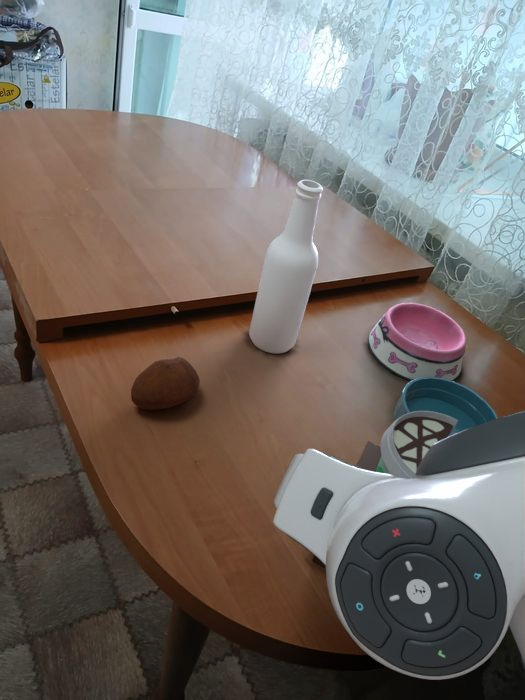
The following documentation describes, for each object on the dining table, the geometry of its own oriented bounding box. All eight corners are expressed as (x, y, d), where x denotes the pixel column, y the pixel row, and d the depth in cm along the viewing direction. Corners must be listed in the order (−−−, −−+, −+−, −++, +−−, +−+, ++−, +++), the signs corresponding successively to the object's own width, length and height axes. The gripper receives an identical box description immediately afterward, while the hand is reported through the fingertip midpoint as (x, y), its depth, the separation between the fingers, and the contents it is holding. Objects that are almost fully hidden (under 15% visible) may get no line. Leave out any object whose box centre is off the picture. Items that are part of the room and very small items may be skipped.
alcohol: (238, 332, 100) (270, 174, 82) (275, 321, 105) (313, 170, 87) (267, 360, 95) (307, 199, 77) (304, 348, 100) (350, 193, 82)
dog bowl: (472, 392, 99) (488, 364, 95) (374, 377, 97) (387, 347, 93) (446, 333, 114) (460, 306, 110) (361, 318, 112) (371, 290, 108)
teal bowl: (493, 422, 94) (505, 403, 91) (481, 484, 82) (494, 465, 79) (406, 383, 98) (415, 364, 95) (381, 437, 86) (391, 417, 83)
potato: (211, 399, 85) (218, 361, 80) (152, 433, 77) (156, 393, 72) (179, 373, 88) (183, 334, 83) (120, 403, 81) (121, 362, 76)
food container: (382, 448, 70) (409, 391, 63) (426, 474, 67) (459, 417, 61) (341, 511, 61) (368, 451, 55) (390, 542, 59) (424, 485, 52)
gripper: (565, 575, 36) (511, 546, 49) (290, 437, 41) (308, 444, 54) (528, 666, 35) (483, 612, 49) (252, 514, 40) (280, 502, 54)
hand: (389, 522), depth 52 cm, fingers open, 8 cm apart
